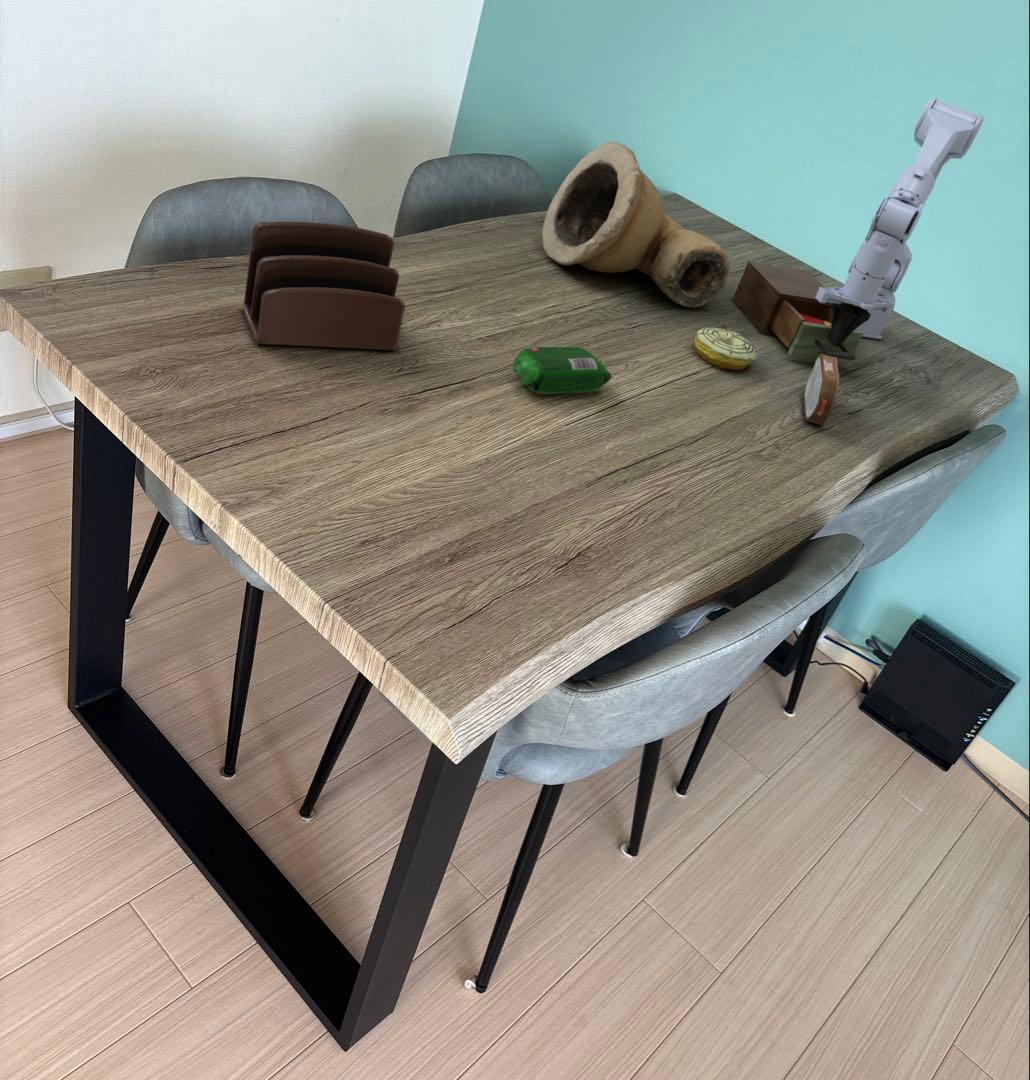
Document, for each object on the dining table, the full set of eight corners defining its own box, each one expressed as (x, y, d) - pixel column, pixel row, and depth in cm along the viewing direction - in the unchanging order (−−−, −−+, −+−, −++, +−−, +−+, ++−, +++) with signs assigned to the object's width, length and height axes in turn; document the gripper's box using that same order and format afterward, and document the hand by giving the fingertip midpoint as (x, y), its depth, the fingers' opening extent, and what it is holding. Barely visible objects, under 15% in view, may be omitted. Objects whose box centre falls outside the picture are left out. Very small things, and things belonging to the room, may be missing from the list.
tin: (821, 435, 160) (844, 388, 155) (802, 428, 160) (825, 382, 156) (817, 394, 173) (839, 350, 168) (799, 388, 173) (820, 344, 168)
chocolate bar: (826, 340, 188) (834, 324, 186) (828, 349, 185) (836, 332, 183) (785, 327, 188) (792, 310, 186) (786, 336, 185) (794, 319, 183)
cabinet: (822, 342, 193) (841, 303, 188) (761, 333, 188) (779, 293, 183) (791, 308, 203) (808, 271, 198) (732, 299, 198) (748, 260, 193)
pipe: (697, 353, 195) (596, 303, 175) (615, 282, 213) (515, 229, 192) (773, 247, 187) (676, 182, 166) (681, 182, 205) (583, 116, 184)
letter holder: (242, 310, 143) (253, 213, 135) (377, 318, 152) (395, 228, 143) (255, 345, 136) (268, 246, 128) (396, 352, 145) (416, 259, 137)
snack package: (613, 398, 152) (624, 367, 149) (523, 400, 144) (533, 367, 141) (589, 373, 156) (600, 343, 153) (501, 373, 148) (510, 341, 145)
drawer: (860, 378, 181) (877, 346, 178) (802, 370, 177) (818, 338, 173) (816, 331, 194) (830, 301, 190) (760, 323, 190) (774, 292, 186)
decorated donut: (762, 369, 175) (771, 349, 173) (724, 377, 168) (733, 357, 166) (717, 339, 180) (725, 320, 178) (679, 346, 173) (687, 326, 171)
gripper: (845, 275, 166) (810, 349, 173) (916, 288, 171) (879, 359, 178) (825, 257, 171) (791, 329, 179) (895, 269, 176) (859, 339, 184)
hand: (834, 343), depth 179 cm, fingers closed
